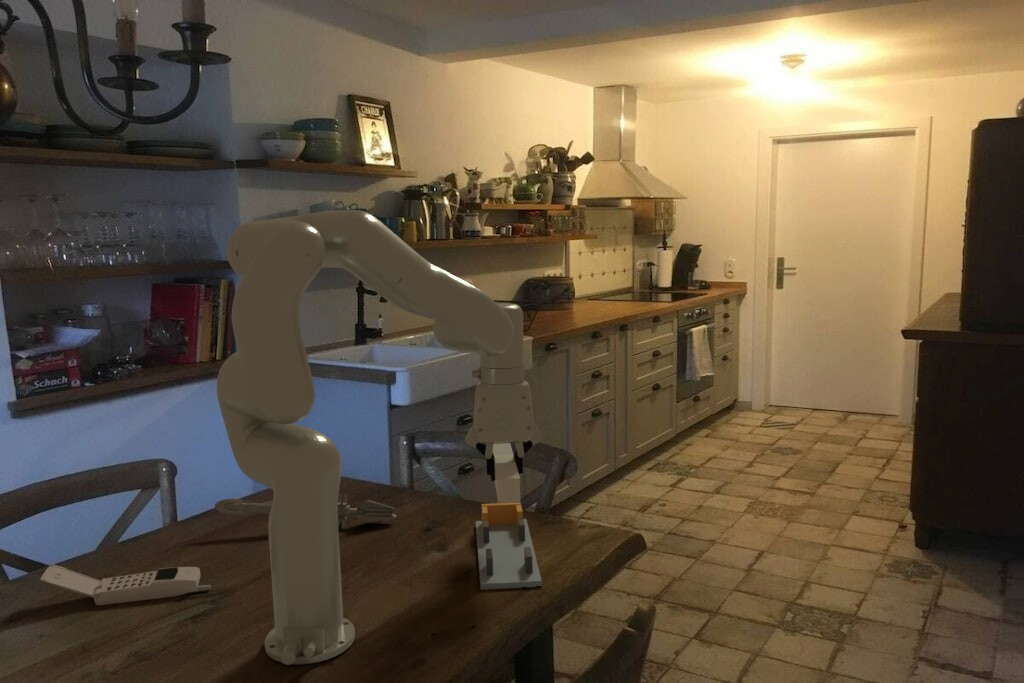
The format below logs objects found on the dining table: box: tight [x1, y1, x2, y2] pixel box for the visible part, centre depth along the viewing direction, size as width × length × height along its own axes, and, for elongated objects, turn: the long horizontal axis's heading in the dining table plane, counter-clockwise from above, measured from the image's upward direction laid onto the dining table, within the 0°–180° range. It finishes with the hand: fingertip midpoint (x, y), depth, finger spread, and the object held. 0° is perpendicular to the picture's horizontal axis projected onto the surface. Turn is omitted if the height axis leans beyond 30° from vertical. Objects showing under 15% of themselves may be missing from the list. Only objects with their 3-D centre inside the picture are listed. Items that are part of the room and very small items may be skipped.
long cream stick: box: [492, 442, 521, 503], centre depth 142 cm, size 22×4×4 cm, turn 4°
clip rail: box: [475, 501, 543, 591], centre depth 146 cm, size 28×10×5 cm, turn 4°
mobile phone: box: [39, 563, 212, 606], centre depth 133 cm, size 6×6×25 cm
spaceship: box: [214, 493, 397, 529], centre depth 160 cm, size 8×35×8 cm
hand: (504, 477), depth 143 cm, fingers closed on long cream stick, 3 cm apart
